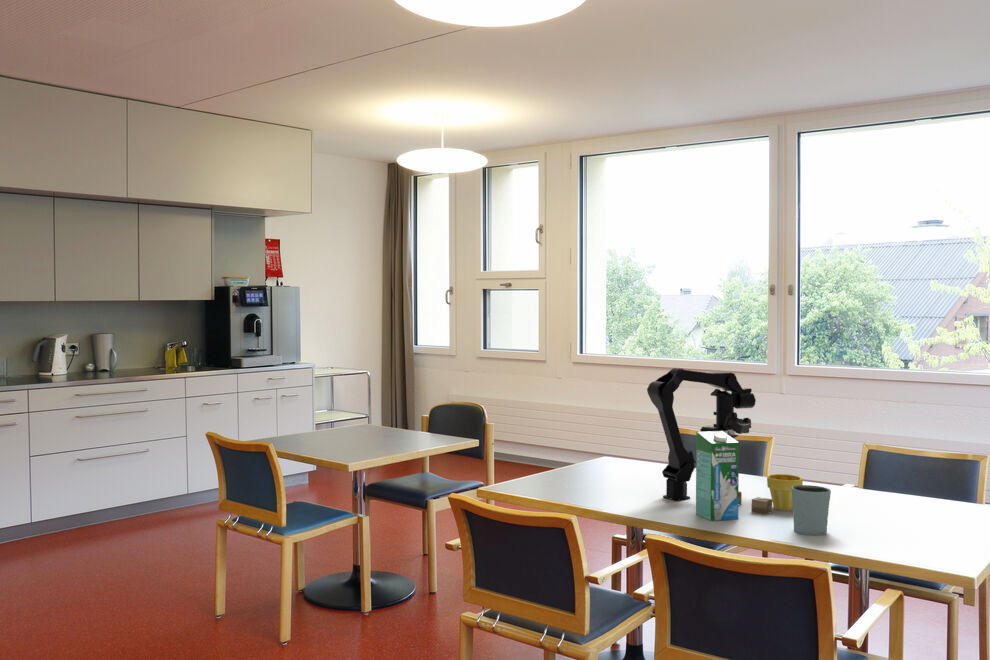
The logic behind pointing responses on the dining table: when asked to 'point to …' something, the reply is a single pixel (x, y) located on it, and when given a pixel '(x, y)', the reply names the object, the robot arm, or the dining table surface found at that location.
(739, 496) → the marked block
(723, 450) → the milk carton
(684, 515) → the dining table surface
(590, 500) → the dining table surface
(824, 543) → the dining table surface
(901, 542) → the dining table surface
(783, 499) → the plant pot
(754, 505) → the marked block
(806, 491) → the grey cup
